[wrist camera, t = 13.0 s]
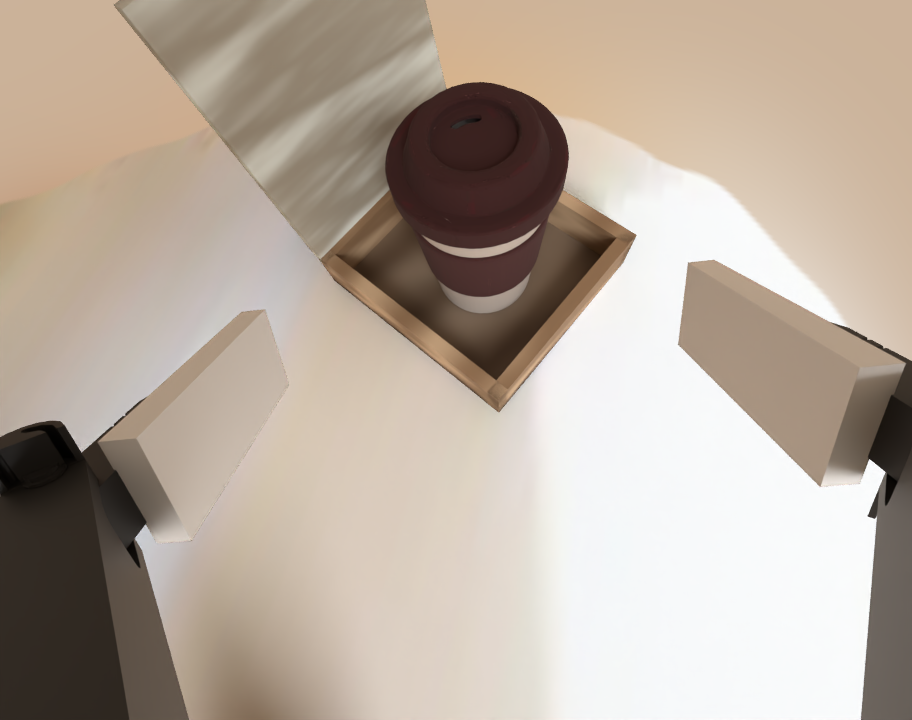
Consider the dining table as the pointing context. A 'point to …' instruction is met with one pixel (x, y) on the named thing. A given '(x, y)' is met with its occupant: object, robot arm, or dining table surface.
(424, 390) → the dining table surface
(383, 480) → the dining table surface
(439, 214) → the coffee cup
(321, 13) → the cold frame
